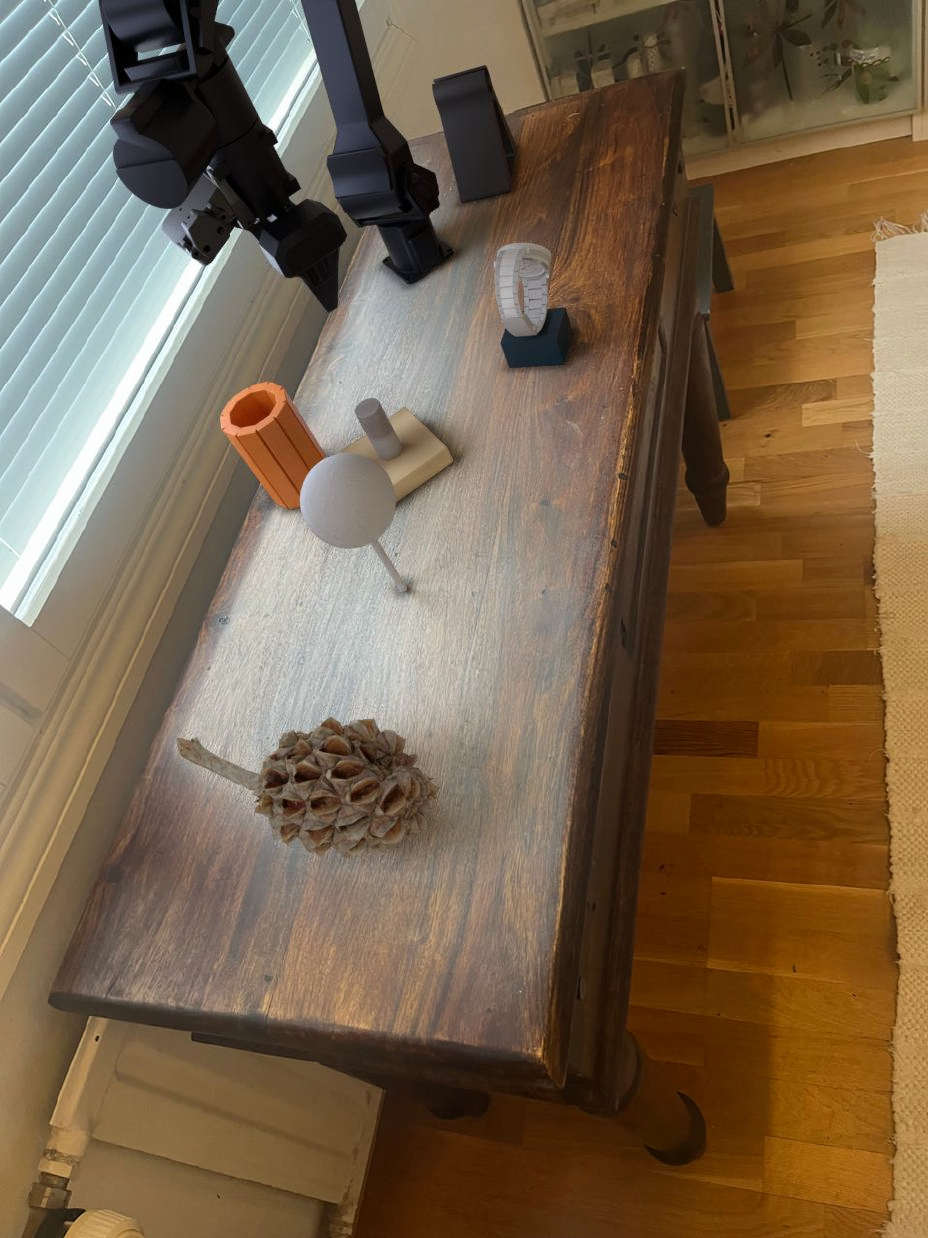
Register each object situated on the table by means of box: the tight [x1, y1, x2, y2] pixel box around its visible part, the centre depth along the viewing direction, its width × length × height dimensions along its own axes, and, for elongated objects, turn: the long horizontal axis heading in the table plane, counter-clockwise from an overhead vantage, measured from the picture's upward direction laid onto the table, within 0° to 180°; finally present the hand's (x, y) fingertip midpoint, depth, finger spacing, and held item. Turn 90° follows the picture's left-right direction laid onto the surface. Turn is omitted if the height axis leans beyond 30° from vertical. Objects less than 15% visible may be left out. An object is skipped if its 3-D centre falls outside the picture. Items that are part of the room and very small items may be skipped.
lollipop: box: [299, 452, 408, 593], centre depth 73 cm, size 7×7×15 cm
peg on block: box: [338, 397, 454, 503], centre depth 84 cm, size 8×8×8 cm
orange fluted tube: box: [219, 381, 328, 510], centre depth 86 cm, size 6×7×10 cm
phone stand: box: [431, 64, 518, 204], centre depth 105 cm, size 9×6×12 cm, turn 173°
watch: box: [493, 242, 574, 369], centre depth 85 cm, size 6×8×11 cm
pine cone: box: [175, 716, 441, 860], centre depth 65 cm, size 22×10×10 cm, turn 74°
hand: (311, 290), depth 86 cm, fingers open, 9 cm apart
